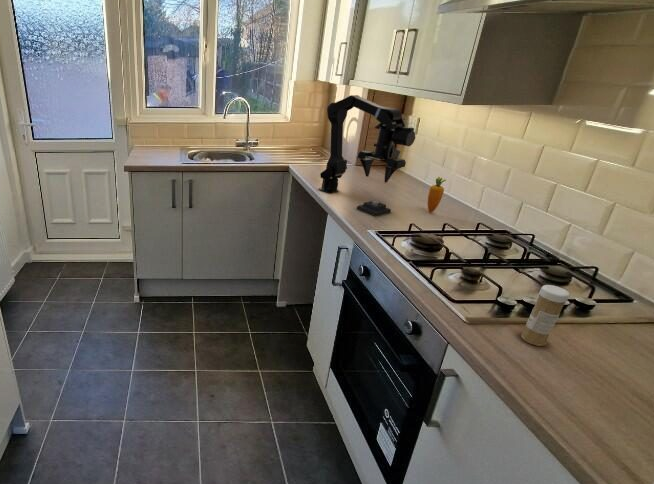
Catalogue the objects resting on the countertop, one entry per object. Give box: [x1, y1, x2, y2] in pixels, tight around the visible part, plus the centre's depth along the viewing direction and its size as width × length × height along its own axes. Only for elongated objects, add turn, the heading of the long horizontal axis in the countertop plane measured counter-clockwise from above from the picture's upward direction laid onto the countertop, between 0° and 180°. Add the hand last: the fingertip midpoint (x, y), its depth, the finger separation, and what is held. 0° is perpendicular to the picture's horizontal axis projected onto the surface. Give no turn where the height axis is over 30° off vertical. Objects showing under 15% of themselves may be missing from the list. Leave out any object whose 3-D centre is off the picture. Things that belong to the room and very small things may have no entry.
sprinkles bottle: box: [520, 284, 570, 347], centre depth 91 cm, size 5×5×13 cm
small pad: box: [362, 200, 387, 211], centre depth 169 cm, size 6×6×2 cm
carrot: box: [427, 176, 447, 214], centre depth 165 cm, size 5×5×15 cm
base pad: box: [356, 200, 392, 217], centre depth 169 cm, size 9×9×4 cm
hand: (376, 179), depth 172 cm, fingers open, 9 cm apart
